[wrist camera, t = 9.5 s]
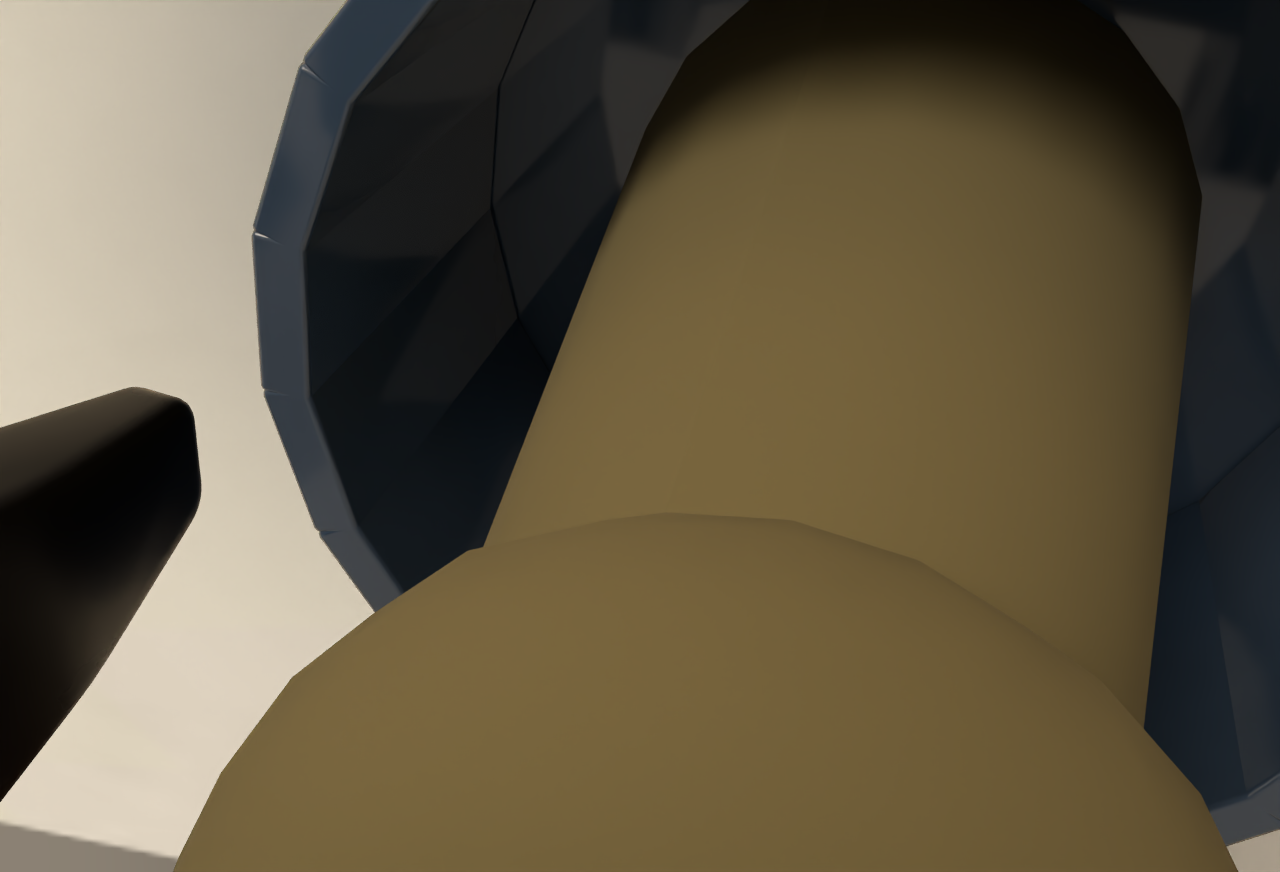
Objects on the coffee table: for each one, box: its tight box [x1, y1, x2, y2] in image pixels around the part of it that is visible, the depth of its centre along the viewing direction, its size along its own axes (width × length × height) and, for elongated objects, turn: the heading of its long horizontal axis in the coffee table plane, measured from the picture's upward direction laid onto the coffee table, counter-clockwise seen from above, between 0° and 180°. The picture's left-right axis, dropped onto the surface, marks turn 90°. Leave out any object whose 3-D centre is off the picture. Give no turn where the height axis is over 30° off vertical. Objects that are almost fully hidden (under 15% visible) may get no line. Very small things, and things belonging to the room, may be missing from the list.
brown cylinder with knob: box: [173, 0, 1238, 872], centre depth 9 cm, size 6×6×11 cm
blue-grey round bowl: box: [252, 0, 1280, 846], centre depth 12 cm, size 10×10×5 cm
